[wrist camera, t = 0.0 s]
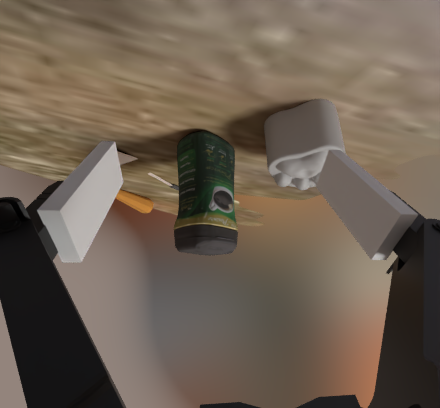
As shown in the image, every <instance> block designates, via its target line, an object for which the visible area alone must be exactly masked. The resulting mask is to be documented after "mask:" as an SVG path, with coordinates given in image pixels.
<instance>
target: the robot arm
mask: <svg viewBox="0 0 440 408" xmlns="http://www.w3.org/2000/svg"><path fill="white" fill-rule="evenodd" d="M122 184H123V178H122V173H121V168H120V163H119V158H118V153H117V148H116V144H115V142H114V141H101V142H100V143H99V144H98V145H97V146H96V147H95V148H94V150H93V151H92V152H91V153H90V154H89V155H88V156H87V157H86V158H85V159H84V160H83V161H82V162H81V164H80V165H79V166H78V167H77V168H76V169H75V170H74V171H73V172H72V173H71V174H70V175H69V176H68V177H67V179H66V180H65V181H57V182H56V183H54V184H52V185H50V186H48V187H47V188H46V189H45V190H44V191H43V192H42V194H40V195H39V196H38V197H37V199H36V200H34V201H33V202H32V203H31V204H30V205H29V206H28V207H27V208H26V209H25V207H24V205H23V203H22V202H21V200H19V199H18V198H14V197H3V198H0V300H1V304H2V308H3V312H4V316H5V320H6V324H7V328H8V332H9V336H10V339H11V344H12V348H13V352H14V356H15V360H16V364H17V368H18V372H19V376H20V380H21V384H22V388H23V392H24V396H25V400H26V403H27V408H126V406H125V404H124V402H123V400H122V398H121V396H120V394H119V392H118V390H117V388H116V386H115V384H114V382H113V380H112V379H111V376H110V374H109V372H108V370H107V368H106V366H105V364H104V363H103V360H102V358H101V356H100V354H99V352H98V351H97V349H96V346H95V345H94V342H93V340H92V338H91V337H90V334H89V332H88V330H87V328H86V326H85V324H84V322H83V320H82V318H81V317H80V314H79V313H78V310H77V309H76V306H75V305H74V302H73V301H72V298H71V296H70V294H69V292H68V290H67V288H66V286H65V285H64V282H63V280H62V278H61V276H60V275H59V272H58V271H57V268H56V266H55V264H54V263H53V259H54V258H55V256H56V254H57V253H58V254H59V256H60V259H61V261H62V262H82V260H83V258H84V256H85V255H86V253H87V251H88V249H89V247H90V245H91V243H92V241H93V239H94V237H95V235H96V234H97V232H98V230H99V228H100V226H101V224H102V222H103V220H104V218H105V216H106V214H107V213H108V211H109V209H110V207H111V205H112V203H113V201H114V199H115V197H116V195H117V193H118V192H119V190H120V188H121V186H122ZM316 187H317V189H318V190H319V191H320V193H321V194H322V195H323V197H324V198H325V199H326V201H327V202H328V203H329V205H330V206H331V207H332V209H333V210H334V211H335V212H336V214H337V215H338V216H339V218H340V219H341V220H342V222H343V223H344V224H345V226H346V227H347V228H348V230H349V231H350V232H351V234H352V235H353V236H354V238H355V239H356V240H357V242H358V243H359V244H360V245H361V247H362V248H363V250H364V251H365V252H366V253H367V255H368V256H369V257H370V259H371V260H386V259H387V258H388V257H389V255H390V254H391V252H392V251H394V252H395V253H396V254H397V255H398V257H397V259H396V260H395V261H394V263H393V264H392V265H391V267H390V268H389V269H388V271H387V273H388V274H389V273H390V272H391V271H393V272H392V279H391V286H390V292H389V299H388V306H387V313H386V320H385V326H384V333H383V339H382V346H381V353H380V360H379V366H378V373H377V380H376V386H375V392H374V396H373V399H372V401H371V403H370V405H369V406H368V408H440V220H437V219H426V218H424V217H423V216H422V215H421V214H419V213H418V212H417V211H416V210H414V209H413V208H412V207H411V206H410V205H408V204H407V203H406V202H405V201H404V200H401V198H400V197H398V196H397V195H396V194H395V193H394V192H392V191H390V190H388V189H387V188H386V187H384V186H383V185H382V184H381V183H380V182H379V181H377V180H376V179H375V178H374V177H373V176H371V175H370V174H369V173H368V172H366V171H365V170H364V169H363V168H362V167H360V166H359V165H358V164H357V163H356V162H354V161H353V160H352V159H351V158H350V157H348V156H347V155H346V154H345V153H344V152H342V151H341V150H329V151H328V154H327V157H326V159H325V162H324V165H323V168H322V171H321V174H320V176H319V179H318V182H317V185H316ZM200 408H259V407H256V406H252V405H248V404H244V403H241V402H235V403H219V404H204V405H200ZM297 408H362V407H360V405H359V403H358V400H357V398H356V396H355V395H343V396H328V397H318V398H316V399H314V400H312V401H310V402H307V403H305V404H303V405H301V406H299V407H297Z"/></svg>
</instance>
